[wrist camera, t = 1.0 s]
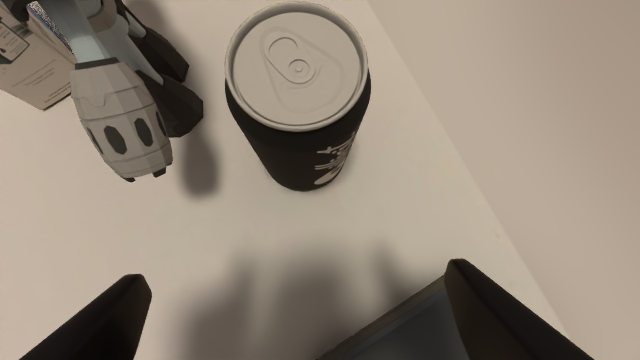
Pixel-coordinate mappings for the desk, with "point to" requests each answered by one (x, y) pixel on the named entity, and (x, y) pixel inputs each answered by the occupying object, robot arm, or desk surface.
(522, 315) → the robot arm
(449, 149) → the desk surface
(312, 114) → the beverage can
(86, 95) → the robot
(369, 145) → the desk surface
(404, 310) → the serving tray
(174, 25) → the desk surface
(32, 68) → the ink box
